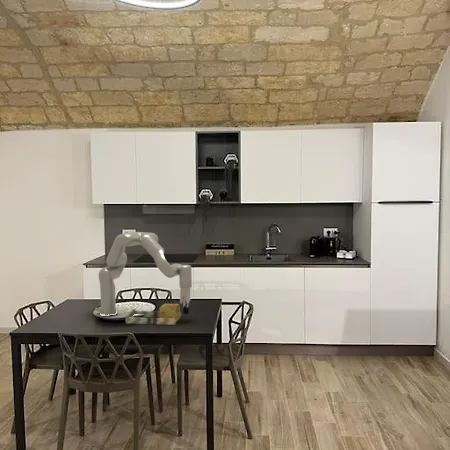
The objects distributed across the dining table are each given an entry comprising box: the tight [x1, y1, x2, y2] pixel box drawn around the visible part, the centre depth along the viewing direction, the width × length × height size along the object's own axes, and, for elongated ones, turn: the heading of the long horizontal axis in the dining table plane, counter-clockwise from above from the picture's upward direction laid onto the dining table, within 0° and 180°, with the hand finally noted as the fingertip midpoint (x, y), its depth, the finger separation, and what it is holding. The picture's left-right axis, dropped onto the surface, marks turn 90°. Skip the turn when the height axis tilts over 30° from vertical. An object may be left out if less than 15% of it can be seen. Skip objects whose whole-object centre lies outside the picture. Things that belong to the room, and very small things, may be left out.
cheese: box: [158, 303, 181, 322], centre depth 300 cm, size 10×11×10 cm
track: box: [125, 308, 182, 326], centre depth 302 cm, size 31×16×4 cm, turn 83°
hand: (185, 313), depth 299 cm, fingers closed
